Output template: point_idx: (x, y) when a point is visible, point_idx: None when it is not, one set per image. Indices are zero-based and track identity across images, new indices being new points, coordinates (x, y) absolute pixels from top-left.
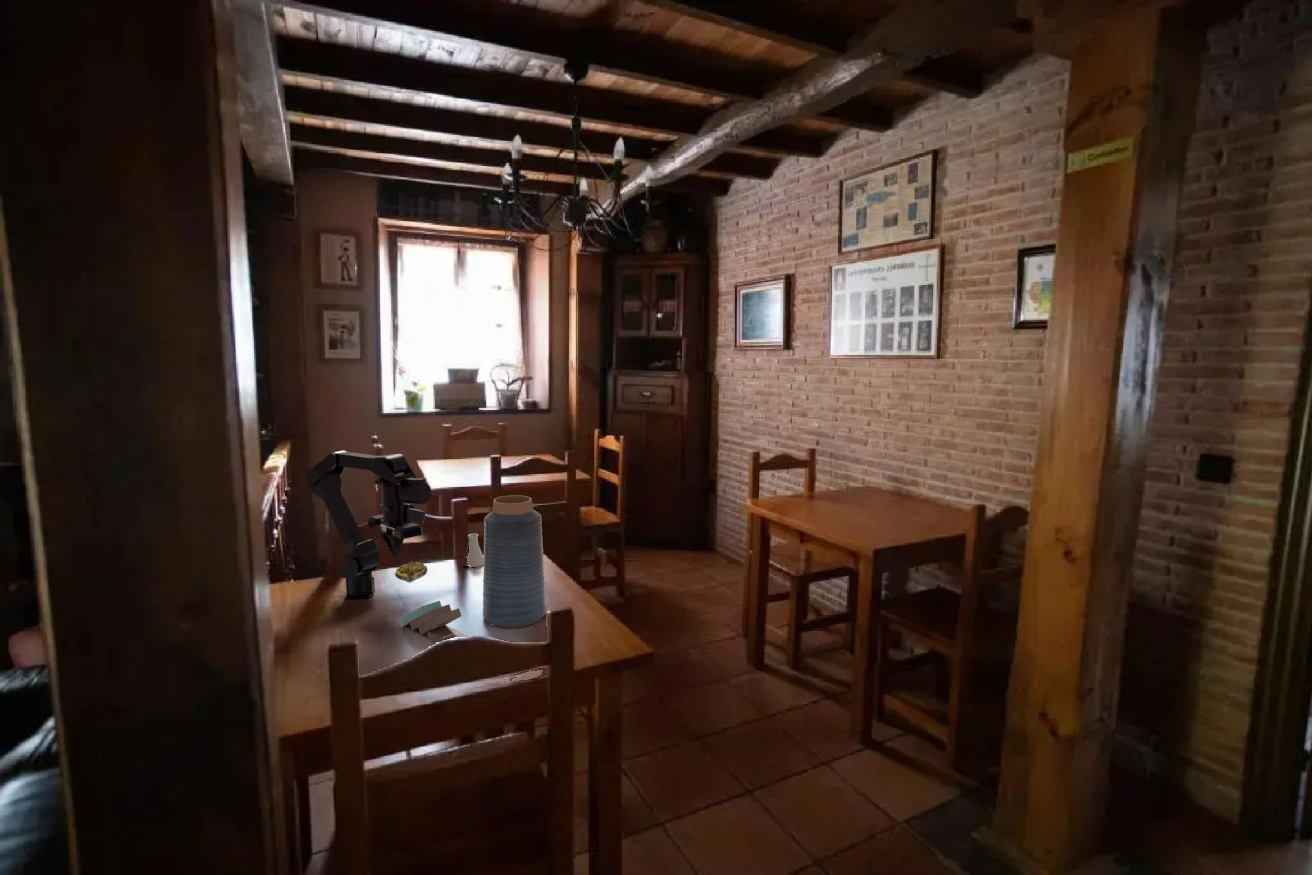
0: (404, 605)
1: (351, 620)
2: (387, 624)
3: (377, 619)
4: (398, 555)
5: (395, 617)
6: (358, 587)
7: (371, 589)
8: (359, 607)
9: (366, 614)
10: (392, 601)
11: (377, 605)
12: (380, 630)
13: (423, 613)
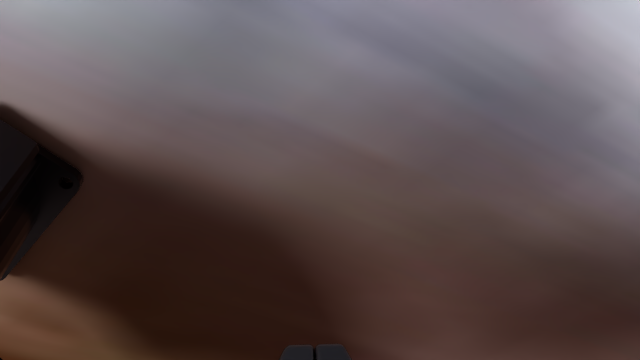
0: (418, 54)
1: (374, 348)
2: (597, 260)
3: (482, 267)
4: (347, 355)
5: (553, 191)
6: (7, 265)
7: (26, 165)
8: (213, 262)
9: (357, 276)
10: (266, 78)
11: (263, 181)
12: (628, 310)
13: None
